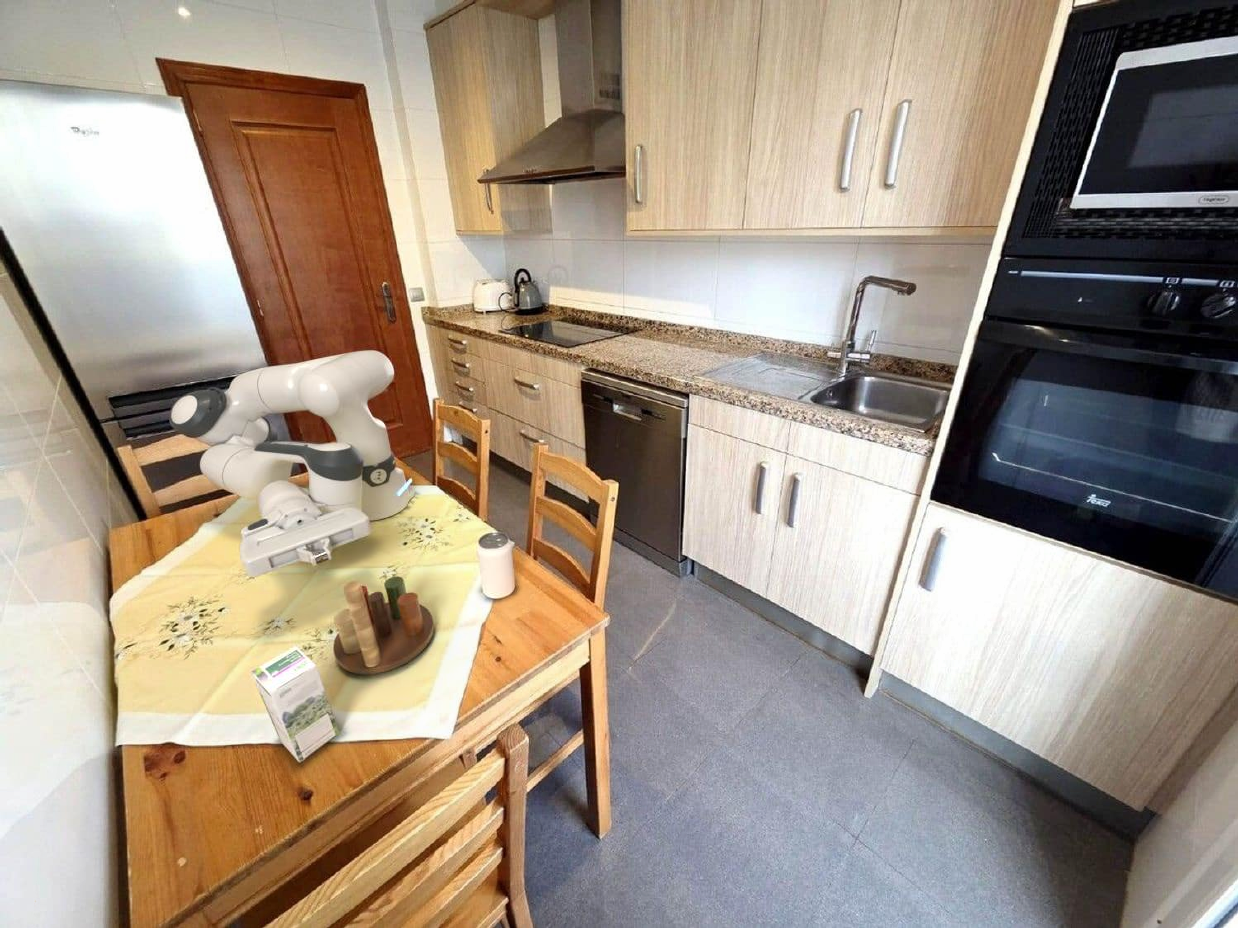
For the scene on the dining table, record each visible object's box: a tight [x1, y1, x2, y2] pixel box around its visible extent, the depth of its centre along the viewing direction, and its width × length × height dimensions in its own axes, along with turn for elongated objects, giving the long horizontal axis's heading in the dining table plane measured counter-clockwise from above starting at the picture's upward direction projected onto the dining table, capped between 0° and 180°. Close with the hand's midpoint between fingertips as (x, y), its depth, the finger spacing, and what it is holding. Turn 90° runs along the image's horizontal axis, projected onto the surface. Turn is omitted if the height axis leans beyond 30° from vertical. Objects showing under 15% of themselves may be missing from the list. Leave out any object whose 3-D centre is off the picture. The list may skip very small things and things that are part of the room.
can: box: [476, 531, 516, 600], centre depth 99 cm, size 6×6×12 cm
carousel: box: [332, 575, 435, 675], centre depth 85 cm, size 16×16×17 cm
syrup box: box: [250, 645, 340, 763], centre depth 69 cm, size 6×6×14 cm
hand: (321, 559), depth 85 cm, fingers closed
